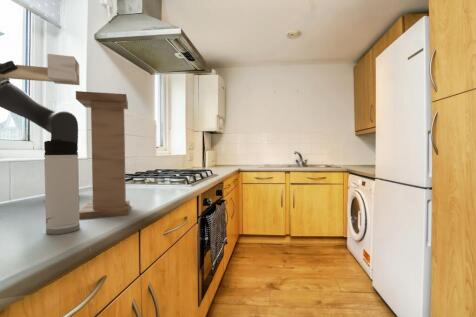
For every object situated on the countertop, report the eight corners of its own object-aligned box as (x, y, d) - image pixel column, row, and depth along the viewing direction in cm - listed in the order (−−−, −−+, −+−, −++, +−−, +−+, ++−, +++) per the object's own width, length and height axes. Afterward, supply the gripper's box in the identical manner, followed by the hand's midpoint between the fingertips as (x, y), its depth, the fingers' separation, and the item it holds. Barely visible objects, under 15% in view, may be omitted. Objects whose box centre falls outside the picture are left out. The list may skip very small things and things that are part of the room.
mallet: (-2, 79, 73) (-3, 56, 73) (79, 85, 80) (79, 64, 79) (-16, 72, 66) (-16, 47, 66) (74, 79, 73) (73, 56, 73)
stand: (87, 208, 84) (85, 100, 83) (129, 205, 88) (127, 102, 87) (78, 218, 71) (75, 91, 70) (128, 214, 75) (126, 94, 74)
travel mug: (40, 236, 56) (37, 139, 56) (52, 227, 63) (50, 140, 62) (74, 233, 58) (72, 139, 57) (83, 225, 64) (81, 140, 64)
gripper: (-89, 73, 59) (-4, 42, 64) (-48, 88, 73) (20, 61, 77) (-66, 104, 61) (16, 72, 66) (-29, 113, 74) (36, 85, 79)
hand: (17, 66), depth 72 cm, fingers closed on mallet, 3 cm apart
